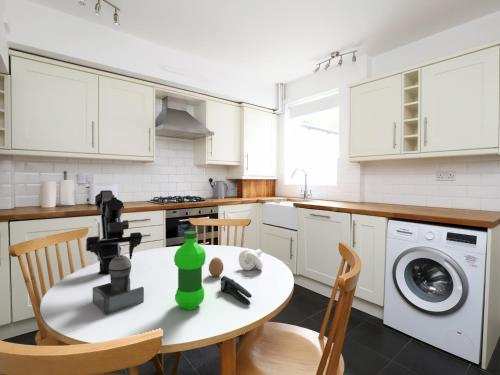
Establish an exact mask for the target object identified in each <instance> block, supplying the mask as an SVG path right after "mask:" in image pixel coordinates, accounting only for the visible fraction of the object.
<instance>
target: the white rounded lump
mask: <svg viewBox="0 0 500 375" xmlns="http://www.w3.org/2000/svg"><path fill="white" fill-rule="evenodd" d="M262 252H263V251H262V250H261V249H260V248H259V249H256V250H255V252H254V251H253V250H251V249H250V248H244V249H243V250H241V251H240V252H239V255H238V264H239V266H240V268H241V269H242V270H243V271H247V270H248V271H250V270H252V269H254V267H255V269H257V270H259V271H261V270H262V269H263V266H264V265H263V262H262V261H261V259H260V257H261V255H262Z"/></svg>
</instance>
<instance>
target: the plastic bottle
mask: <svg viewBox="0 0 500 375" xmlns="http://www.w3.org/2000/svg"><path fill="white" fill-rule="evenodd" d="M197 238H198V231H195V230H188V231H184V232H183V239H185V242H184V243H182V245H181V246H180V247H178V248H177V249H176V251H175V254H174V256H173V262H174V265H175V266H176V267H177V289H176V293H175V295H174V300H175V303H176V304H177V305H178V306H179V307H181V308H182V309H183V310H187V311H191V310H195V309H197V308H198V307H199V305H201V304H202V303H203V301H204V299H205V288H204V286H203V284H202V283H203V282H202V281H203V280H202V279H203V278H202V277H203V276H202V275H203V272H202V271H203V269H202V268H203V267H204V265H205V263H206V254H207V253H206V251H205V250H206V249H205V248H203V247H202V246H201V245H200V244H199V243H197V242H196V239H197Z"/></svg>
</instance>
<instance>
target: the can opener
mask: <svg viewBox="0 0 500 375" xmlns="http://www.w3.org/2000/svg"><path fill="white" fill-rule="evenodd" d="M220 291H221V292H224V293H231V294H232V295H233V296H234V297H235V298H237V299H238V300H239V301H240V302H242V303H244V304H245V305H250V304H251V301H250V300H249V299H250V298H252V294H251V293H250V292H249V291H248V290H247V289H246V288H245V287H243V286H242V285H241V284H239V283H238V282H236V281H235V280H234V279H233V278H230V277H228V276H227V275H223V276H221V278H220Z"/></svg>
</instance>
